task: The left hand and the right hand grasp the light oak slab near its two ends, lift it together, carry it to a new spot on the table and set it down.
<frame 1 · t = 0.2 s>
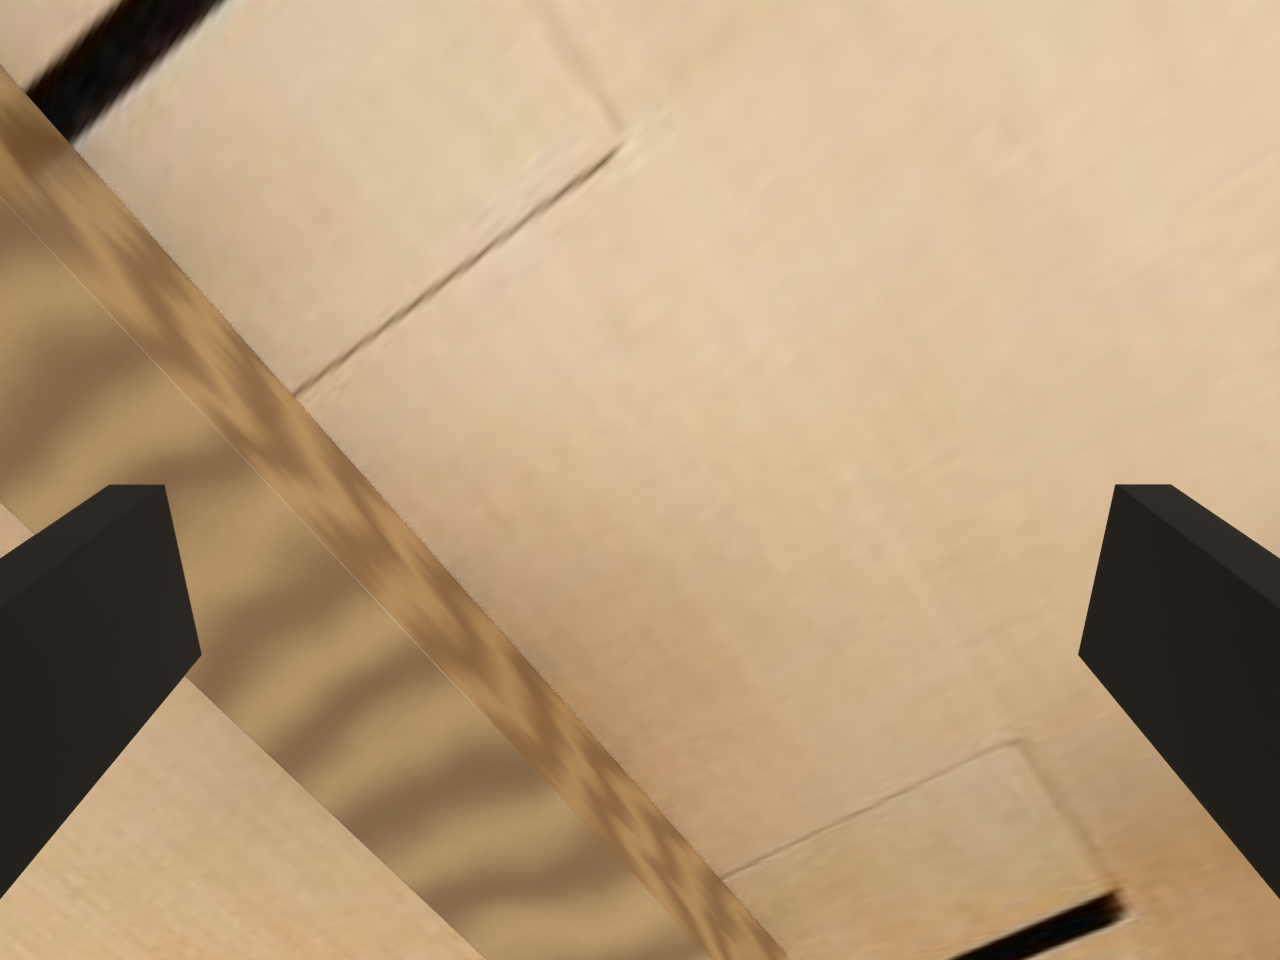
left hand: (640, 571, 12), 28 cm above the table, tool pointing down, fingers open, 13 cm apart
slab: (314, 551, 43), on the table
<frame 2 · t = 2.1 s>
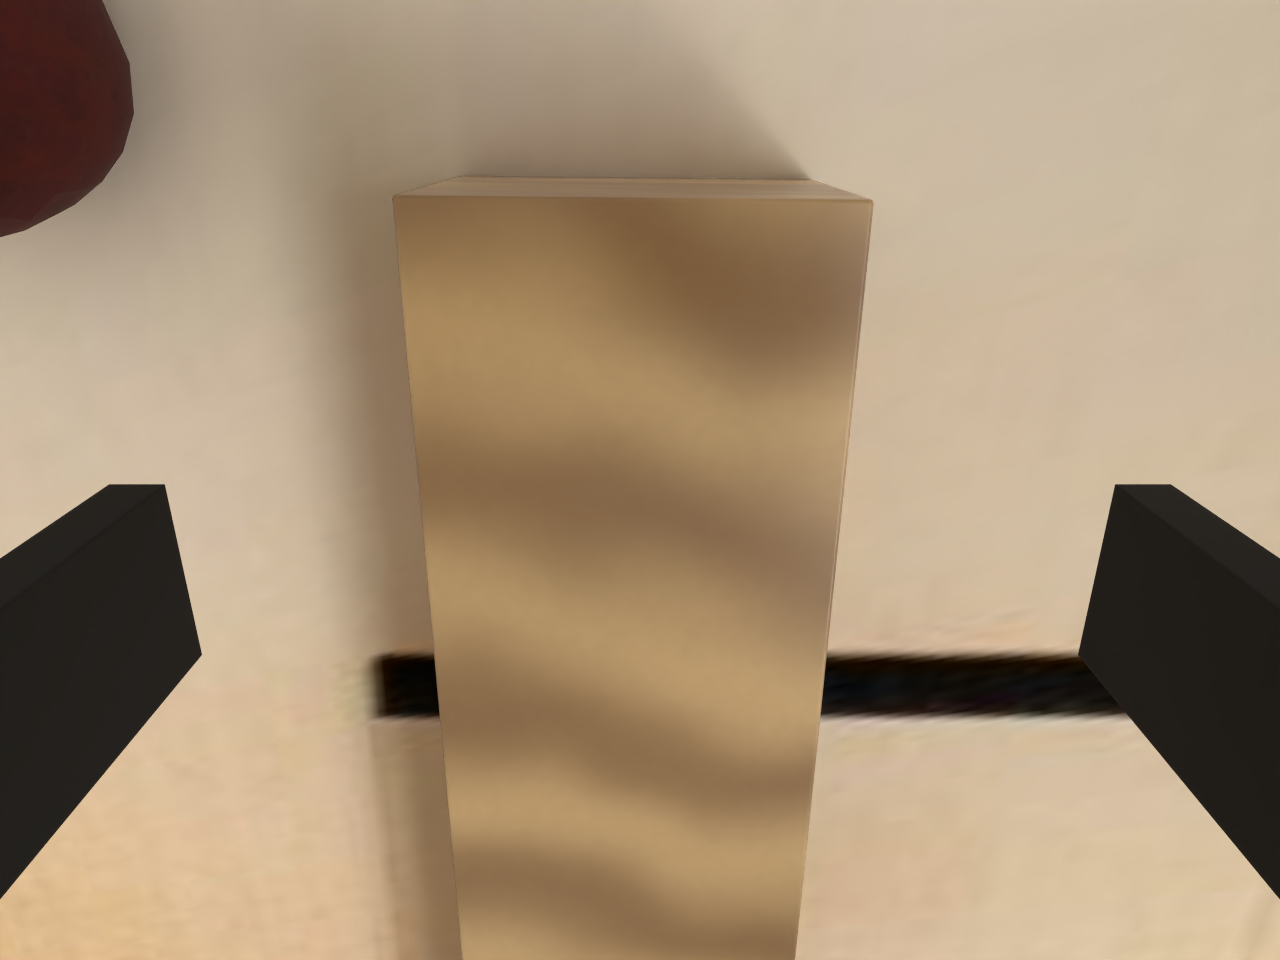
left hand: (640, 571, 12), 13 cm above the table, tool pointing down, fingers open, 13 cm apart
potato: (39, 65, 22), on the table
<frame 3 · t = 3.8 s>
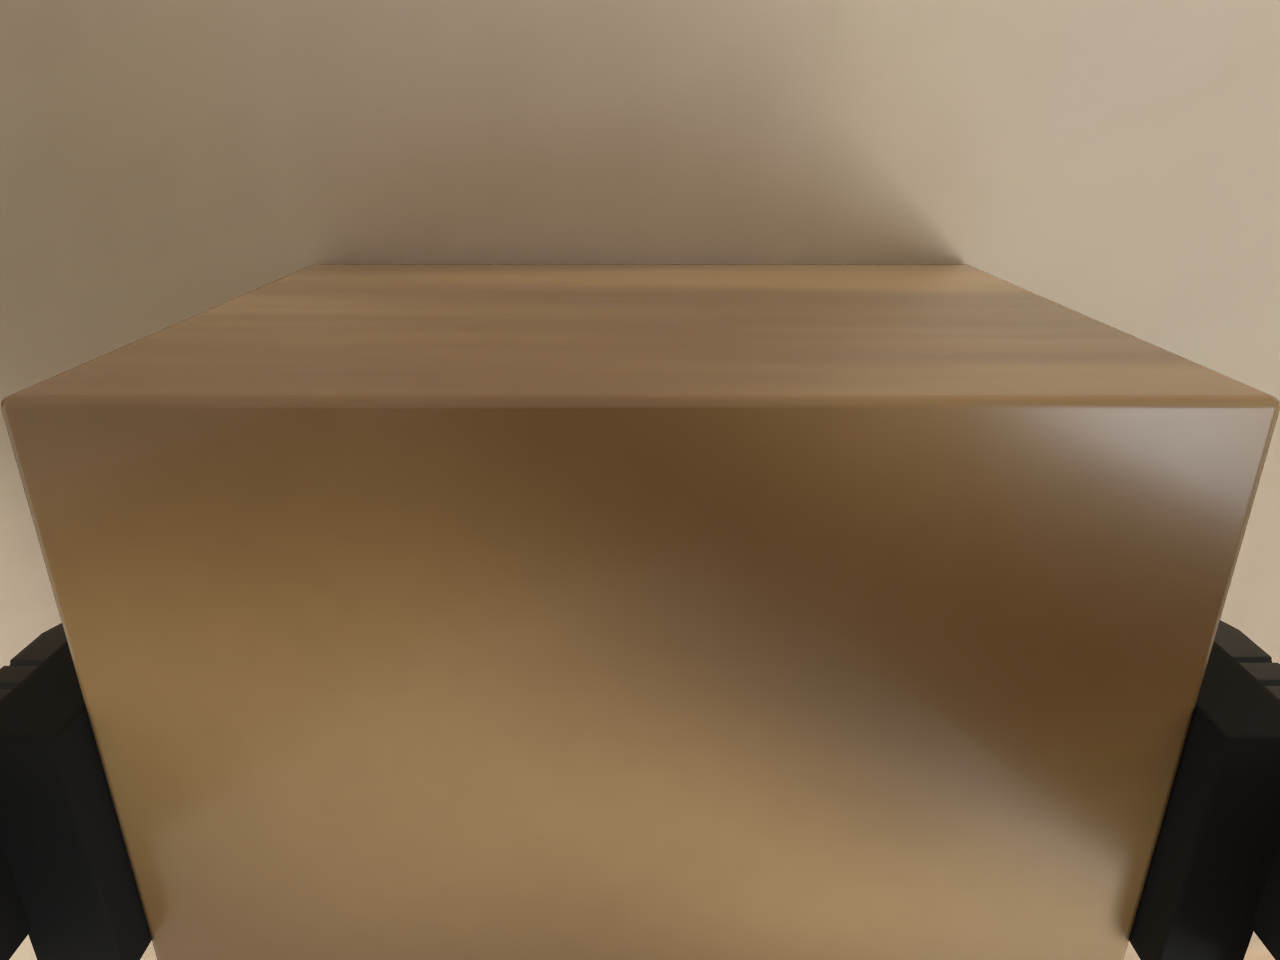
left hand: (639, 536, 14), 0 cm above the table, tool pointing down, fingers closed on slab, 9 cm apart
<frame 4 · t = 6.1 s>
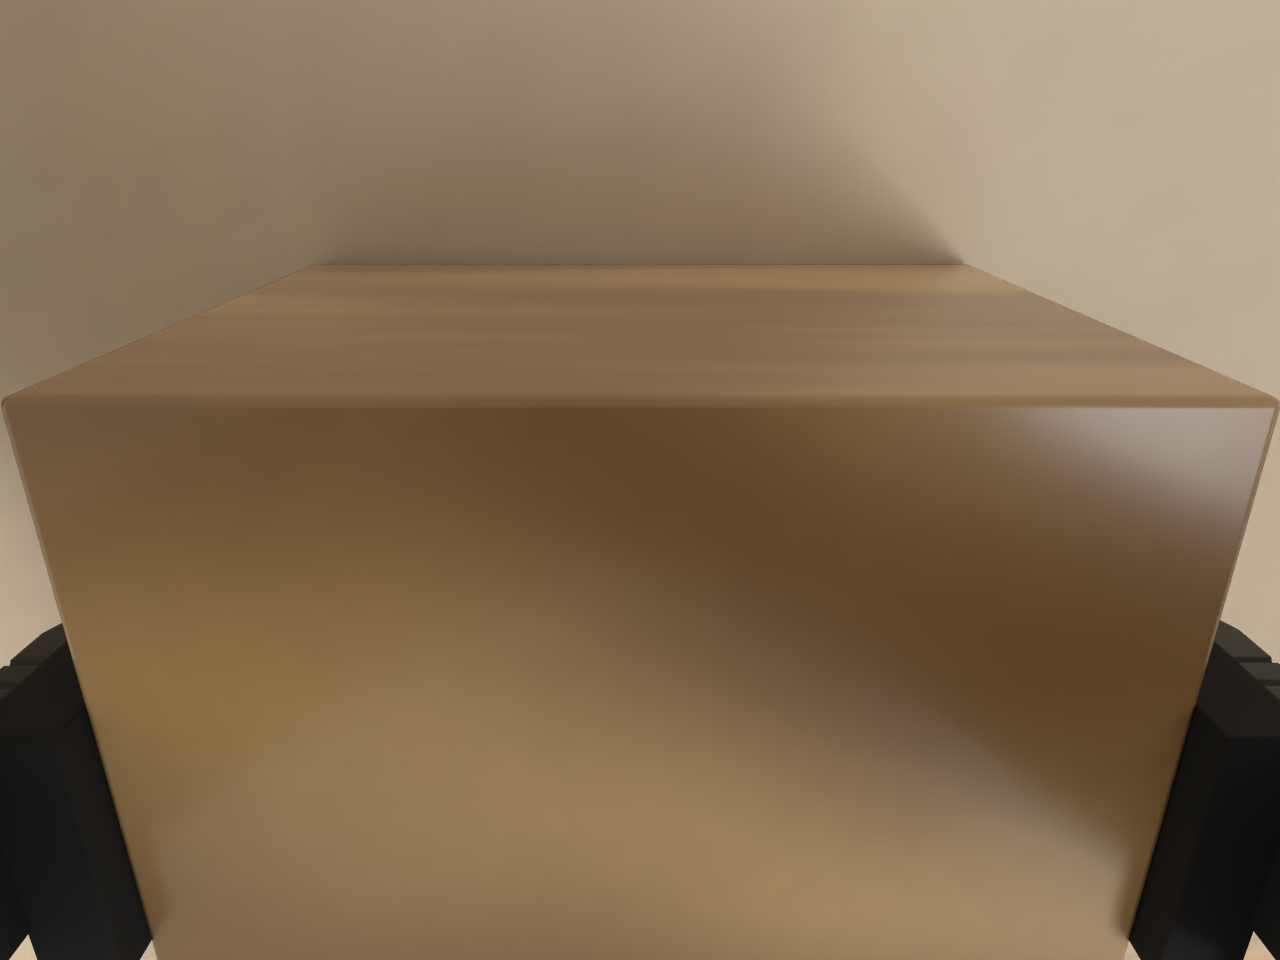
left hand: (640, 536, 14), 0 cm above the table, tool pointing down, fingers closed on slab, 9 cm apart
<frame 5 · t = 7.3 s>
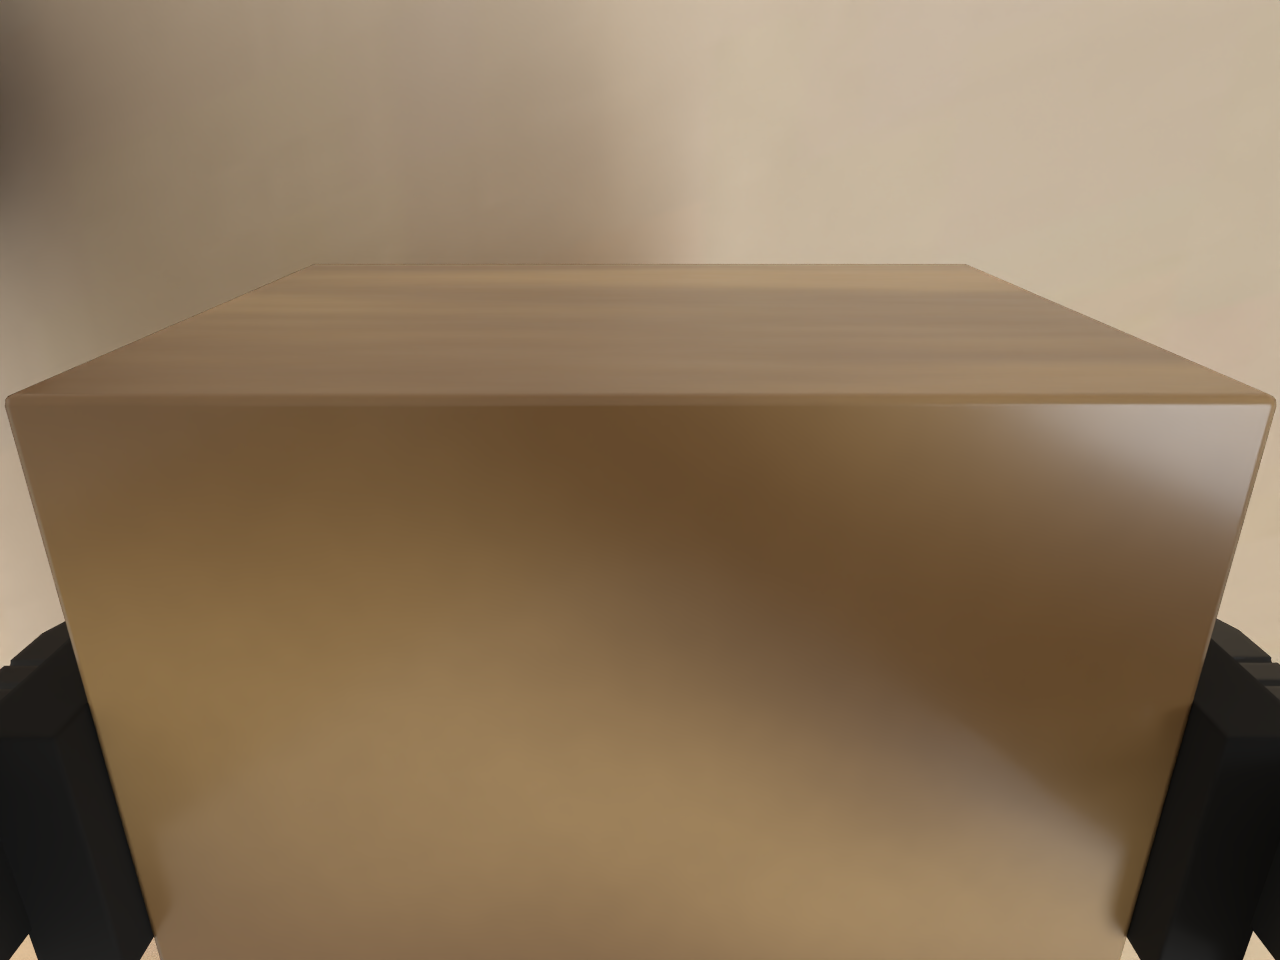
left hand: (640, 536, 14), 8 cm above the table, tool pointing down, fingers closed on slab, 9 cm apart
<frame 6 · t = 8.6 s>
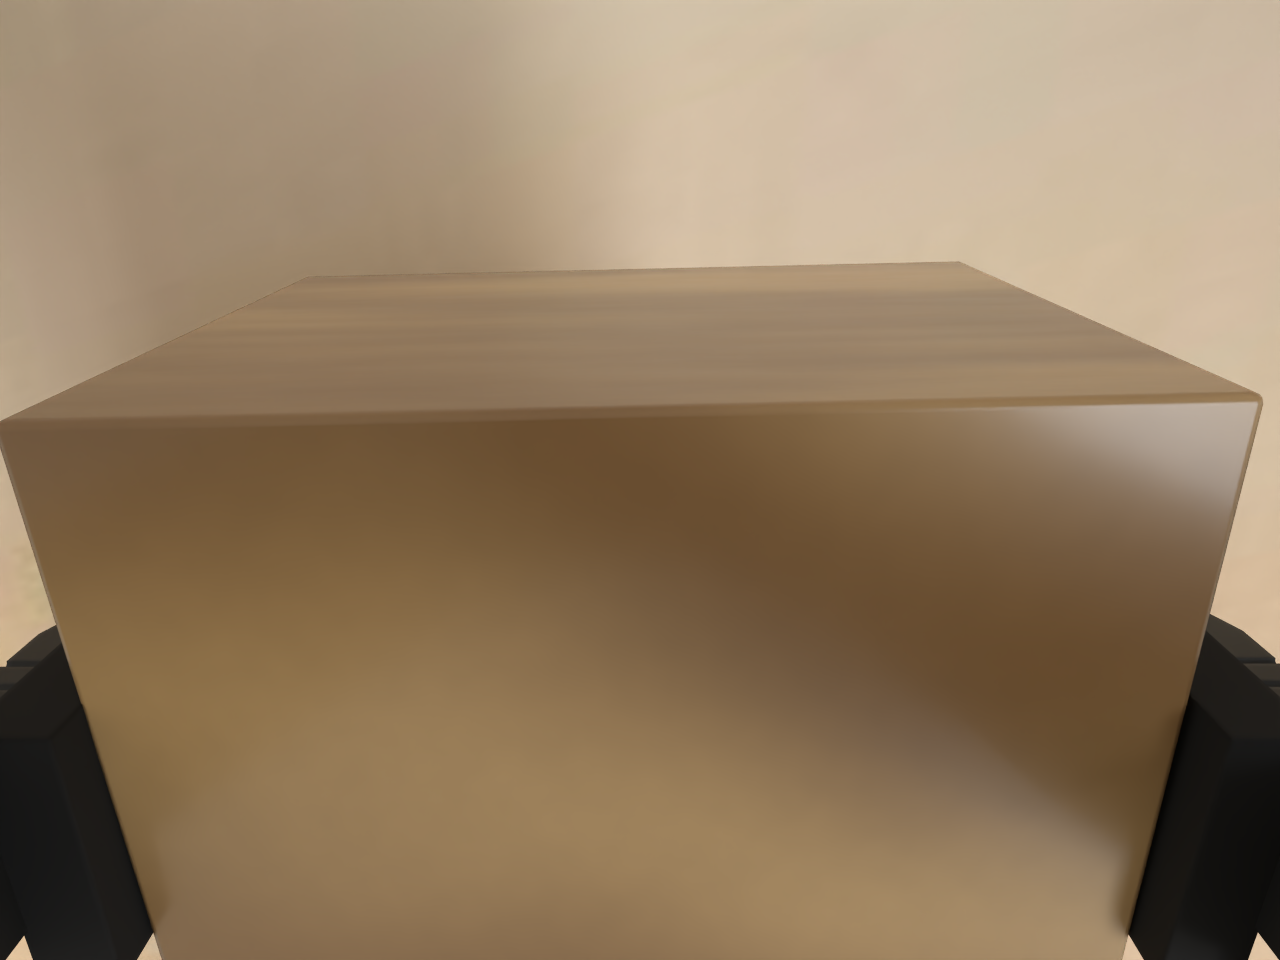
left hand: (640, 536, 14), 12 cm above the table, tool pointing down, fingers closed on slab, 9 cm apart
when the left hand's fingers open (2 cm above the table, at t = 11.1 s): slab drops 1 cm, on the table.
when the right hand's fingers open (2 cm above the table, at t = 11.1 s): slab drops 1 cm, on the table.
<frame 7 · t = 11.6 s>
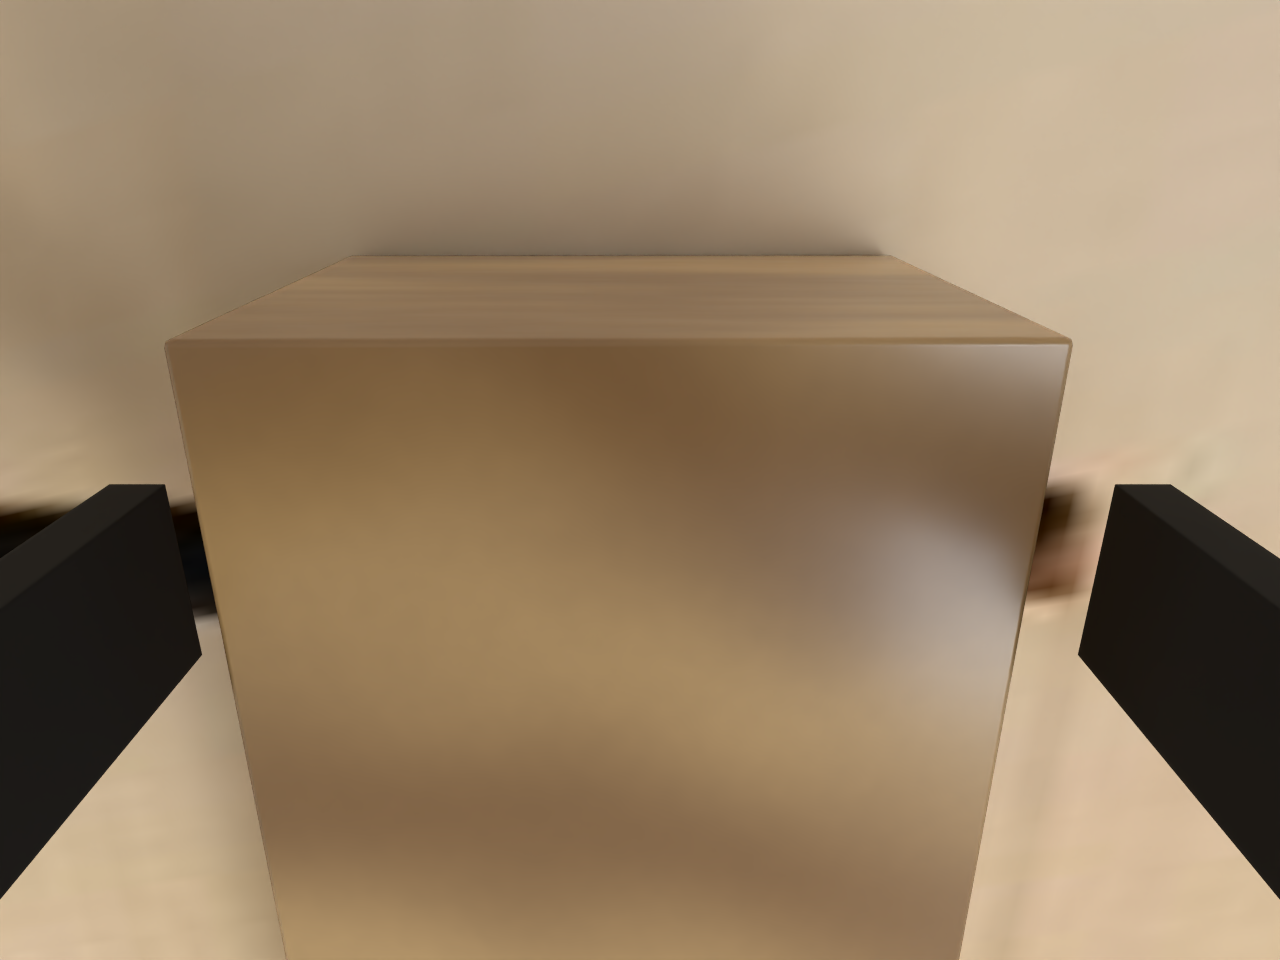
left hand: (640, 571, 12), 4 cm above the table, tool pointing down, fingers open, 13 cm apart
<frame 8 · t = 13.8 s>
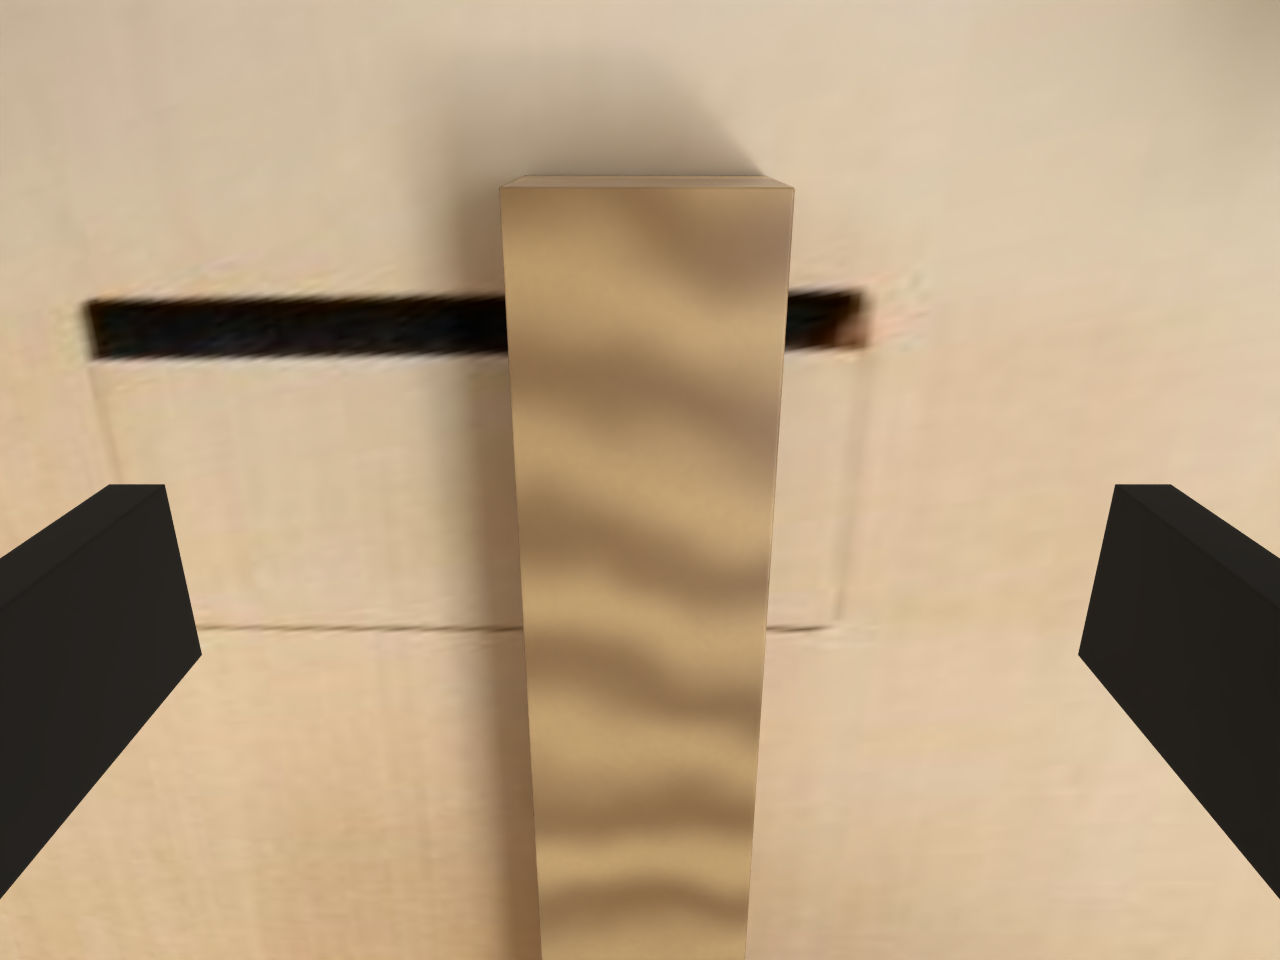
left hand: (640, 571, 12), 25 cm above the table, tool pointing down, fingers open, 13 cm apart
slab: (642, 892, 48), on the table
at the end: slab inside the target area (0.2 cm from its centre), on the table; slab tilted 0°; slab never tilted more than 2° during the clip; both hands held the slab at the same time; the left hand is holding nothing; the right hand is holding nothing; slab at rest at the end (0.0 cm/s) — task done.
